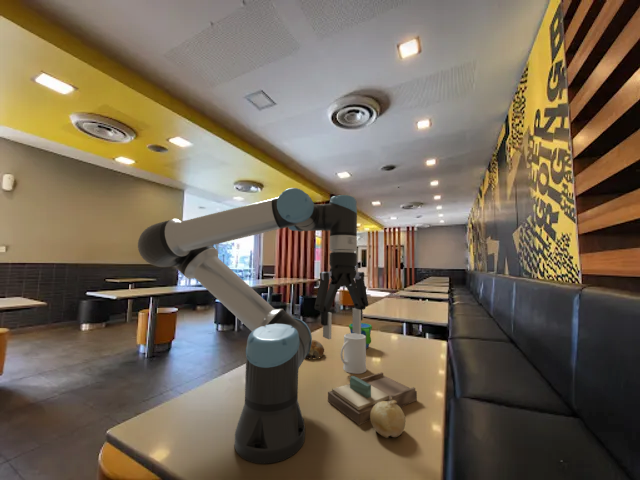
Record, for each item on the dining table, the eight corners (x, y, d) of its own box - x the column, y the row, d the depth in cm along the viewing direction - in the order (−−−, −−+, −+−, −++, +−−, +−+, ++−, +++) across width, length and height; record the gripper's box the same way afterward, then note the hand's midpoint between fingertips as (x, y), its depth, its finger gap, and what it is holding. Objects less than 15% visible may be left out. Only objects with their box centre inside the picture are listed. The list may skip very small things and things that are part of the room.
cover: (358, 410, 65) (358, 394, 66) (332, 391, 74) (332, 377, 75) (389, 398, 71) (389, 383, 72) (361, 382, 80) (361, 369, 81)
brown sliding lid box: (358, 424, 64) (358, 409, 64) (327, 401, 75) (328, 388, 75) (416, 400, 76) (416, 387, 76) (382, 383, 87) (382, 371, 87)
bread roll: (326, 364, 112) (330, 344, 115) (314, 360, 104) (319, 339, 108) (306, 359, 117) (311, 341, 121) (294, 355, 110) (299, 335, 113)
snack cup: (344, 342, 130) (344, 321, 131) (364, 341, 133) (364, 321, 134) (355, 353, 115) (355, 329, 116) (378, 351, 117) (378, 328, 118)
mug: (347, 378, 90) (348, 342, 91) (331, 370, 97) (332, 336, 98) (371, 370, 97) (371, 336, 98) (354, 363, 104) (354, 331, 105)
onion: (401, 448, 56) (400, 413, 57) (365, 436, 60) (365, 403, 60) (408, 428, 63) (408, 397, 63) (376, 418, 67) (376, 389, 67)
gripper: (316, 249, 64) (315, 345, 62) (381, 253, 76) (381, 333, 74) (301, 250, 70) (299, 337, 68) (363, 253, 82) (363, 327, 80)
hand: (342, 335), depth 71 cm, fingers open, 9 cm apart
